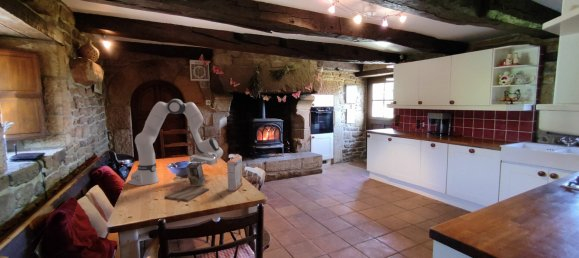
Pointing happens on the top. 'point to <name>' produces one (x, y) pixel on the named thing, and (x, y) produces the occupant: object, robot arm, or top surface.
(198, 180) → the coffee box
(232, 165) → the cracker box
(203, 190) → the walnut board
